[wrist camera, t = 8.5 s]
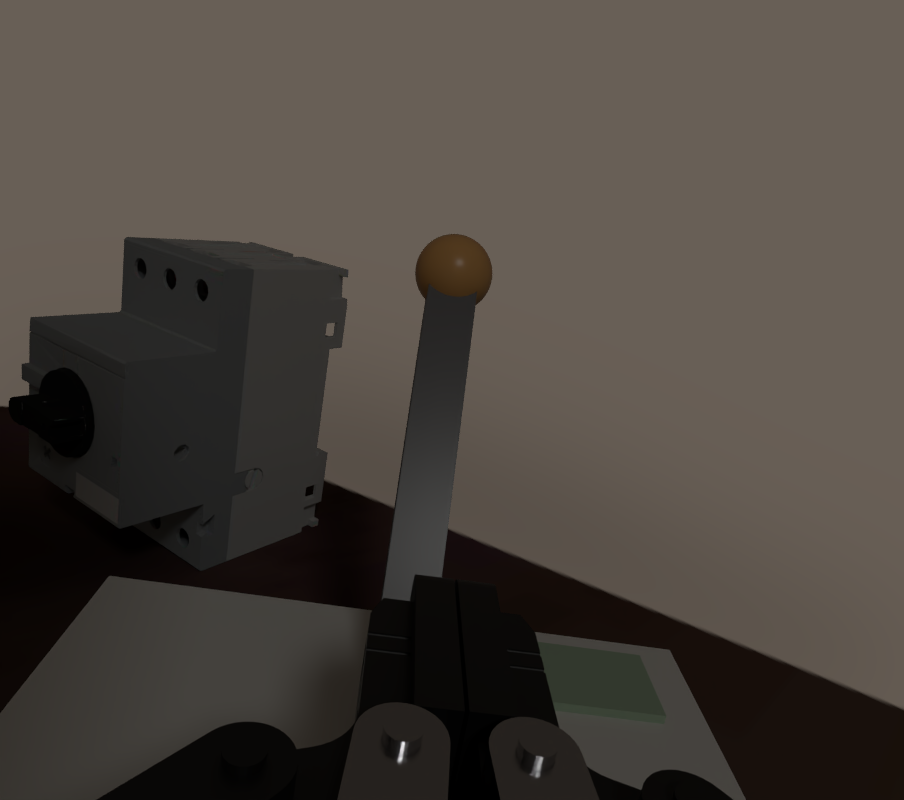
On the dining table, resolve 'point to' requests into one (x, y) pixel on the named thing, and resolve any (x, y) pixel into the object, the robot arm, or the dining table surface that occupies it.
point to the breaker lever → (435, 409)
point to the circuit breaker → (191, 396)
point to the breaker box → (293, 690)
